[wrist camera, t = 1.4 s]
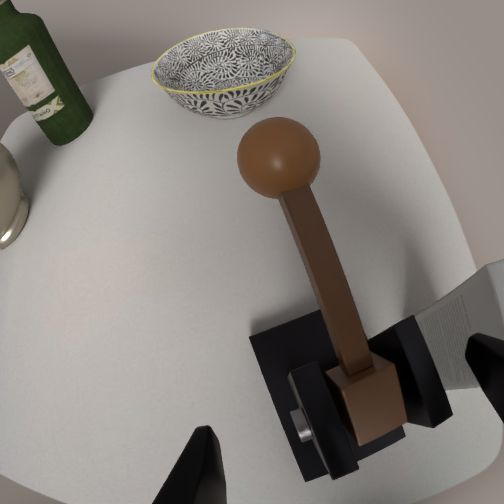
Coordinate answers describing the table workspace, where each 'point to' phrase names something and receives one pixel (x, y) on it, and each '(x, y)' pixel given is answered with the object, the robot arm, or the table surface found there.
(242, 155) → the lever
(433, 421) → the bracket
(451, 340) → the cosmetic box
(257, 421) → the table surface
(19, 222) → the teapot
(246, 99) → the bowl
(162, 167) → the table surface
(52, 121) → the wine bottle
